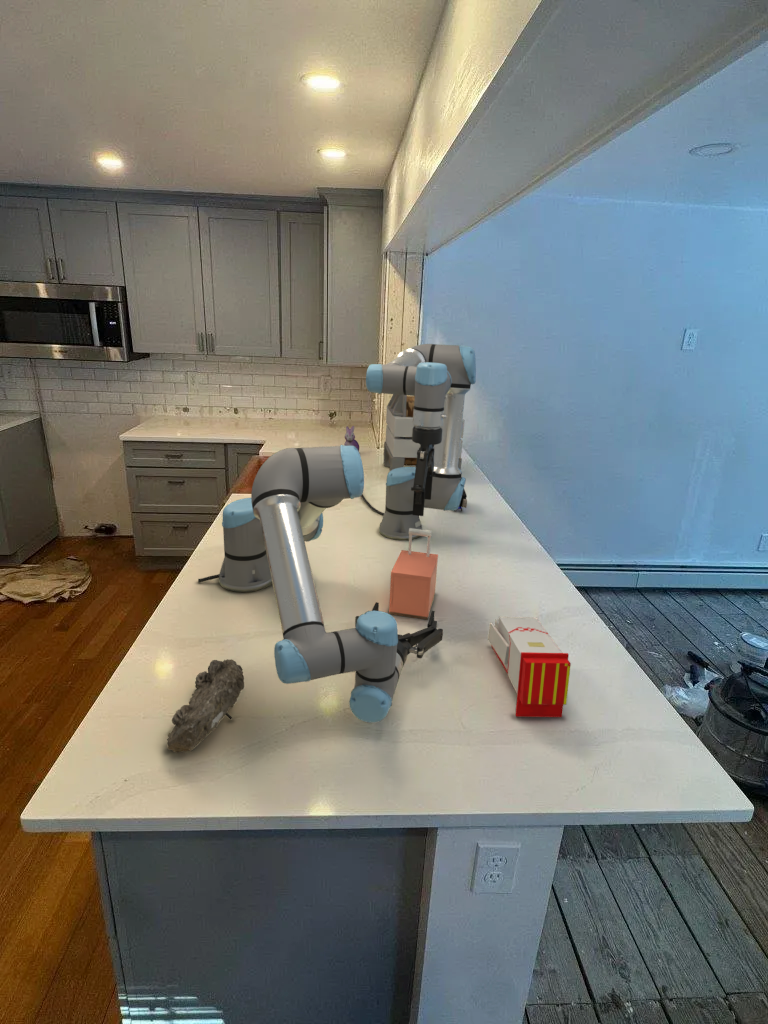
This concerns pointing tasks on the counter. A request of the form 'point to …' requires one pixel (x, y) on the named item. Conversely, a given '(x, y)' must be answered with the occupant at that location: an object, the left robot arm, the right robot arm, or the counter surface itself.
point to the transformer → (403, 433)
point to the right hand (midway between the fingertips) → (422, 506)
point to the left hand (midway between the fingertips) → (404, 611)
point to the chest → (412, 596)
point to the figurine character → (463, 501)
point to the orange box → (416, 559)
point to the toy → (531, 665)
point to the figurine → (351, 438)
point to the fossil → (206, 705)
